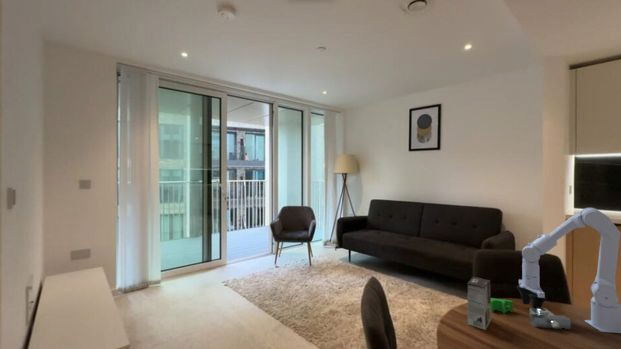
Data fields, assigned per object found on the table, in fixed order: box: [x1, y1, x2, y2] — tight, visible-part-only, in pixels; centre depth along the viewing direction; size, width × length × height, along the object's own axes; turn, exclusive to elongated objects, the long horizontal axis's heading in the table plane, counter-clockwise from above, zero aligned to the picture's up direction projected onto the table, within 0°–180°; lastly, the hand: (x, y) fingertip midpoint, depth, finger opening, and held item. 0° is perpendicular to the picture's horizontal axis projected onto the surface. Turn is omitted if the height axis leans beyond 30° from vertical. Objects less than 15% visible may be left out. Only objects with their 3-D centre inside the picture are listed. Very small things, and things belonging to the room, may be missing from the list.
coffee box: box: [466, 276, 492, 331], centre depth 113 cm, size 9×6×16 cm
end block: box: [529, 313, 572, 330], centre depth 109 cm, size 12×5×4 cm, turn 81°
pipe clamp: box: [491, 297, 514, 314], centre depth 123 cm, size 11×4×5 cm, turn 67°
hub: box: [529, 307, 555, 315], centre depth 114 cm, size 6×6×5 cm
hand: (531, 307), depth 122 cm, fingers open, 7 cm apart
